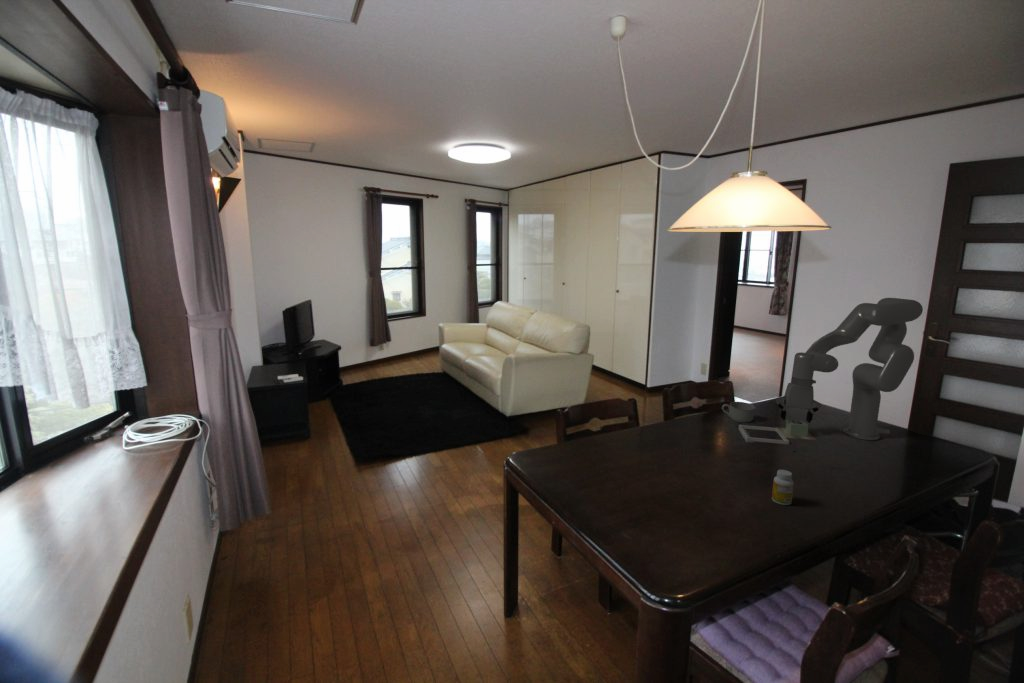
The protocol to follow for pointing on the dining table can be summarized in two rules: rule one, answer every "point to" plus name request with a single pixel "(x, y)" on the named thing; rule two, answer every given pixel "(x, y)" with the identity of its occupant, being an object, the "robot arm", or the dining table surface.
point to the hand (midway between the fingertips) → (795, 420)
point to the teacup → (740, 411)
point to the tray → (750, 439)
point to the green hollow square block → (796, 428)
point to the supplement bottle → (783, 488)
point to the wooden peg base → (796, 436)
